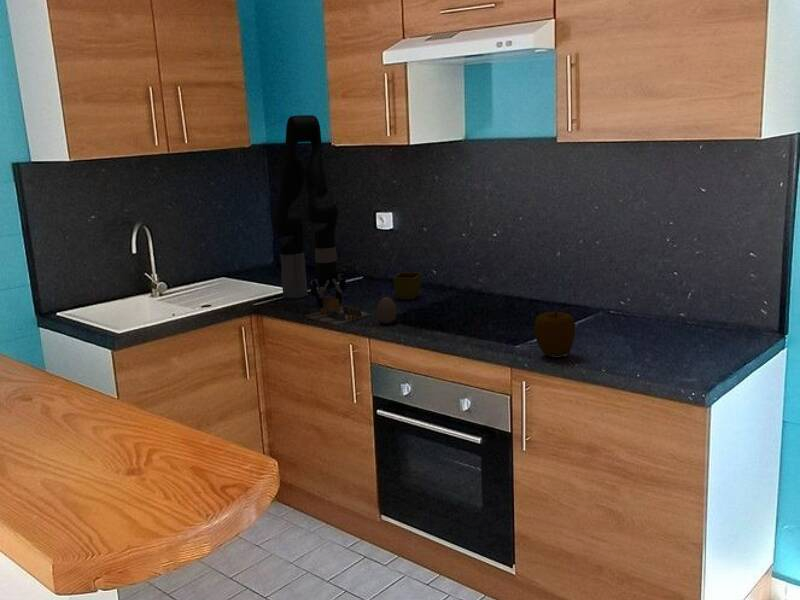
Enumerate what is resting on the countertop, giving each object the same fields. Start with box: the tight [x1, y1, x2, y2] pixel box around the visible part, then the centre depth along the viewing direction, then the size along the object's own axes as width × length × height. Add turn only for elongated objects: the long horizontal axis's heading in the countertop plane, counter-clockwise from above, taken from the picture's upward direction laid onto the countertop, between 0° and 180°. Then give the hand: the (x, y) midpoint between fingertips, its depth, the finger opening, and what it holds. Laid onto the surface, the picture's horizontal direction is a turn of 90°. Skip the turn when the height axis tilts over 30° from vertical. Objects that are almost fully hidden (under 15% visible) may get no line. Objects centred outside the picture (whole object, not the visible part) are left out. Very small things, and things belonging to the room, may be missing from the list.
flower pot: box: [392, 272, 422, 301], centre depth 301 cm, size 9×9×9 cm
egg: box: [376, 296, 398, 325], centre depth 267 cm, size 7×7×9 cm
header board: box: [305, 304, 373, 326], centre depth 281 cm, size 18×16×5 cm
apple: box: [534, 311, 576, 356], centre depth 223 cm, size 11×11×13 cm
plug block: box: [319, 295, 340, 314], centre depth 284 cm, size 6×4×6 cm, turn 39°
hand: (329, 305), depth 284 cm, fingers open, 7 cm apart
